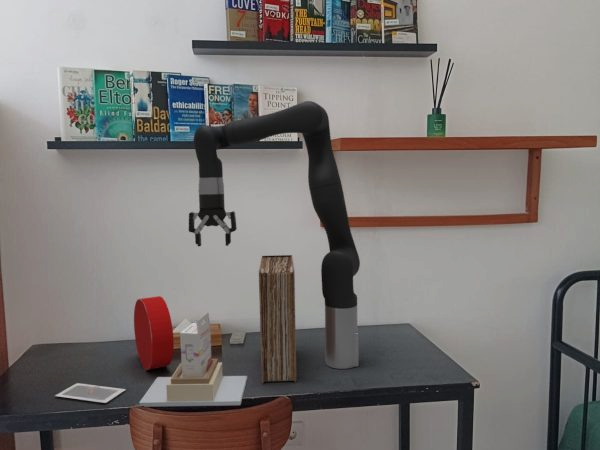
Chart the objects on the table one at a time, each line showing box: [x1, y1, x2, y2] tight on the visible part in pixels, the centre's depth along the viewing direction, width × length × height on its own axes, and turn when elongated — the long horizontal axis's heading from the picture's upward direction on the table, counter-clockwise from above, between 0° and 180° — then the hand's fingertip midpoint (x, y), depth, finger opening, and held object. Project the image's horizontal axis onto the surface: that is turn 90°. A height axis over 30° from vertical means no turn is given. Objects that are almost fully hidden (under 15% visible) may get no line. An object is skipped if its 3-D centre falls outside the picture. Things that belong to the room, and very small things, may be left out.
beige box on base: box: [138, 358, 248, 408], centre depth 124 cm, size 24×15×6 cm, turn 90°
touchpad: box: [54, 382, 127, 404], centre depth 124 cm, size 8×15×2 cm, turn 74°
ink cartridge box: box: [179, 311, 212, 377], centre depth 123 cm, size 9×5×15 cm, turn 171°
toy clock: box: [133, 295, 175, 371], centre depth 141 cm, size 20×6×20 cm, turn 32°
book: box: [258, 254, 297, 385], centre depth 140 cm, size 25×9×30 cm, turn 2°
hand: (213, 245), depth 151 cm, fingers open, 8 cm apart
